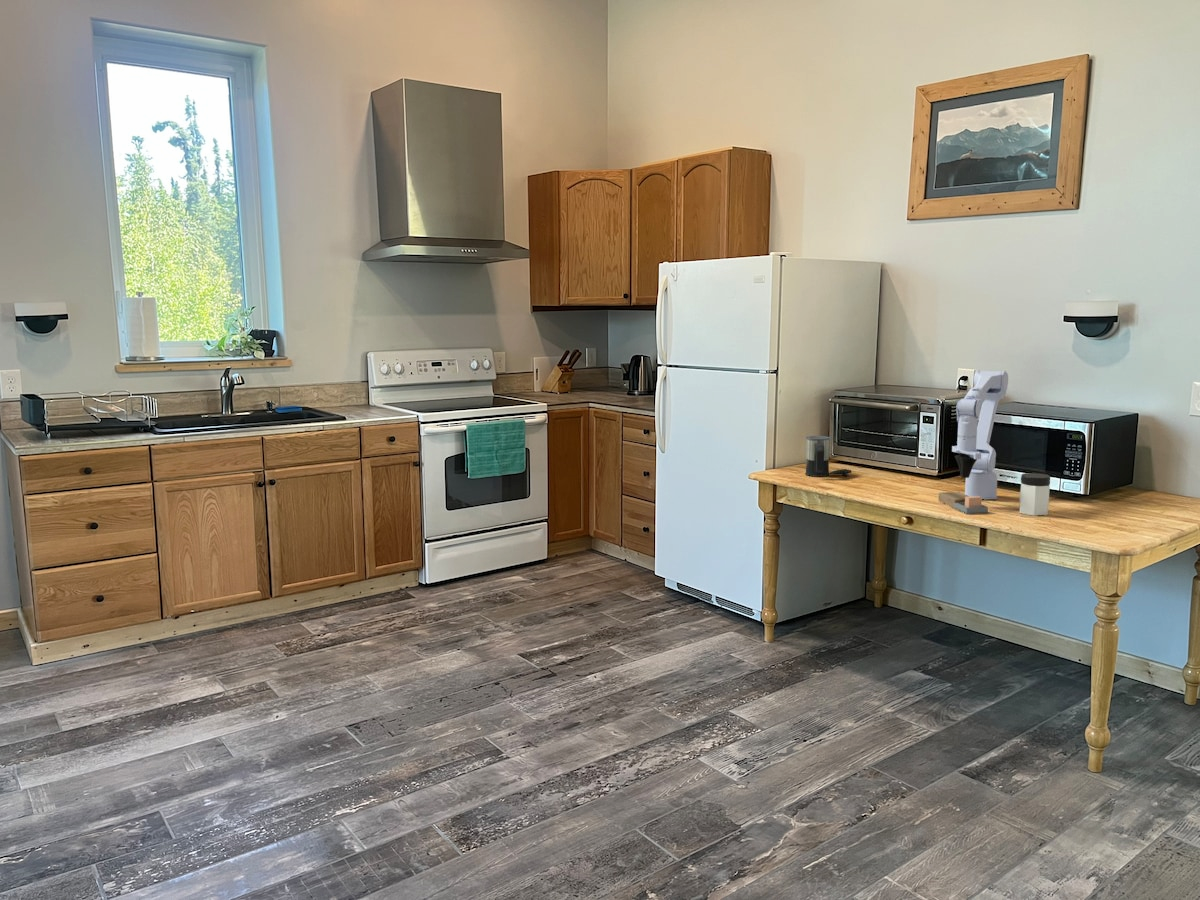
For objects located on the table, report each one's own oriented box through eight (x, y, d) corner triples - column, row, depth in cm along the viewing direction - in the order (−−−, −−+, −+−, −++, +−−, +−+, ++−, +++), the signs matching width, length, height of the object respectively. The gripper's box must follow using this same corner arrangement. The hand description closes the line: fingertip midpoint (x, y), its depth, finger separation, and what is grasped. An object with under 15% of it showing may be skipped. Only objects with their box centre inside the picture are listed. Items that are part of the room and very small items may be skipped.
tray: (974, 507, 280) (975, 501, 279) (987, 513, 272) (988, 507, 272) (954, 508, 279) (954, 502, 279) (966, 514, 272) (966, 508, 271)
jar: (1018, 508, 277) (1020, 471, 275) (1047, 510, 274) (1049, 473, 272) (1019, 515, 269) (1021, 477, 267) (1048, 517, 266) (1051, 479, 264)
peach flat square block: (977, 495, 275) (981, 497, 273) (976, 509, 276) (980, 511, 274) (965, 496, 274) (969, 498, 272) (964, 510, 275) (968, 512, 273)
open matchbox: (958, 500, 290) (958, 491, 289) (974, 507, 280) (975, 498, 279) (938, 501, 289) (938, 492, 289) (954, 508, 279) (954, 499, 278)
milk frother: (801, 473, 341) (801, 435, 338) (838, 471, 343) (839, 434, 341) (816, 480, 327) (817, 441, 324) (855, 478, 330) (856, 439, 327)
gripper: (944, 433, 286) (942, 473, 288) (967, 439, 271) (964, 482, 274) (964, 432, 286) (962, 472, 289) (988, 439, 272) (986, 481, 274)
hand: (964, 477), depth 281 cm, fingers closed
